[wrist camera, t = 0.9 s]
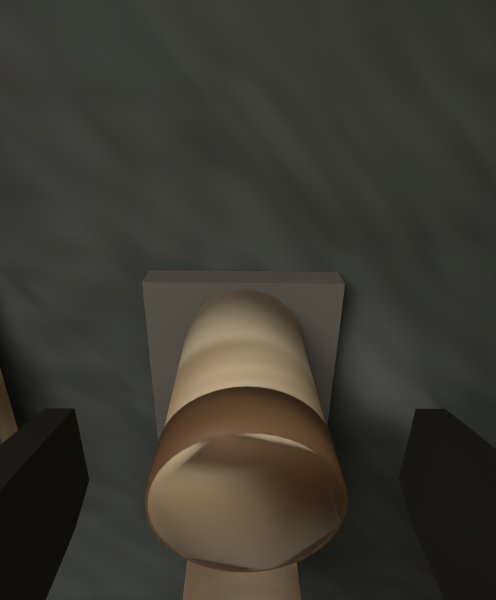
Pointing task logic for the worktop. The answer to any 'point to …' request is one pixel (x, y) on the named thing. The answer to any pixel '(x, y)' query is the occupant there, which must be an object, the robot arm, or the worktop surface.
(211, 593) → the sleeve band down
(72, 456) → the robot arm
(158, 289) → the pad
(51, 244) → the worktop surface
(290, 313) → the sleeve band up
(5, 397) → the socket board
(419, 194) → the worktop surface
